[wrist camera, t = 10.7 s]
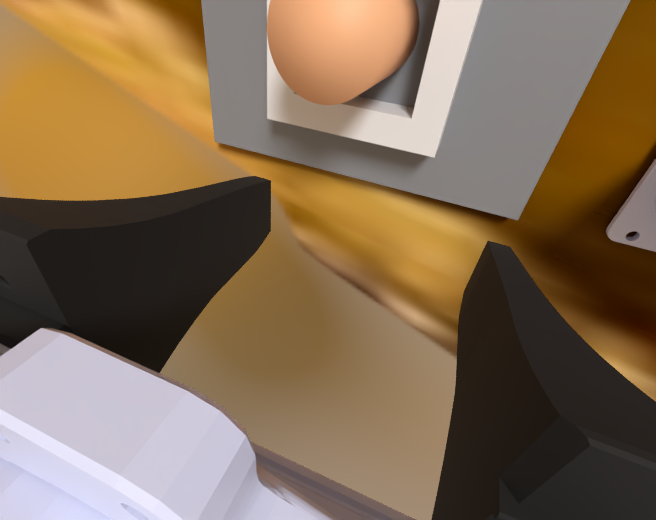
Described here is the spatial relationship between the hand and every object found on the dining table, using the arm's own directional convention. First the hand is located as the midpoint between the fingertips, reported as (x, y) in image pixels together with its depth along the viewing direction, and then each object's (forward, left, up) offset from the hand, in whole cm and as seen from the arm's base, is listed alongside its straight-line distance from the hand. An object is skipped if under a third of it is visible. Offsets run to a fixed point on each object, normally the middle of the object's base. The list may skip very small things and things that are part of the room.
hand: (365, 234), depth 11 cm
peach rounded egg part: (+3, -5, -8) cm, 10 cm away
